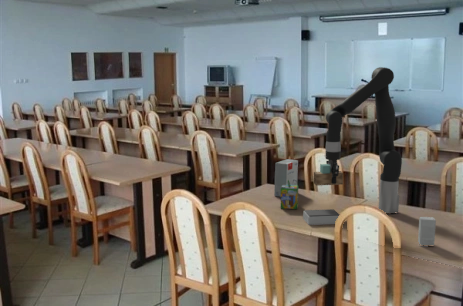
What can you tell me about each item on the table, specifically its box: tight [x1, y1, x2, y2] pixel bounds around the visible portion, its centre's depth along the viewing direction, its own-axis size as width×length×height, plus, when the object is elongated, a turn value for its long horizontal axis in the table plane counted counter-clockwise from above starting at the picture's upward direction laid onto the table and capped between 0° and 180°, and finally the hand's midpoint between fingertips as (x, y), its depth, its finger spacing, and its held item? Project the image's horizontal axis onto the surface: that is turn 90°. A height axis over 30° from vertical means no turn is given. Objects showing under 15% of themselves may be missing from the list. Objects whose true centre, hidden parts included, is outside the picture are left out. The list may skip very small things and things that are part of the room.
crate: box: [319, 163, 330, 174], centre depth 259 cm, size 4×4×4 cm
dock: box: [302, 208, 341, 226], centre depth 249 cm, size 16×10×4 cm, turn 97°
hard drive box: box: [273, 158, 299, 198], centre depth 298 cm, size 16×8×20 cm, turn 147°
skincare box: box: [417, 216, 437, 246], centre depth 217 cm, size 6×4×12 cm
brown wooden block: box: [313, 170, 344, 186], centre depth 260 cm, size 14×5×6 cm, turn 97°
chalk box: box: [280, 180, 299, 210], centre depth 272 cm, size 9×9×15 cm
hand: (332, 182), depth 261 cm, fingers closed on brown wooden block, 5 cm apart
